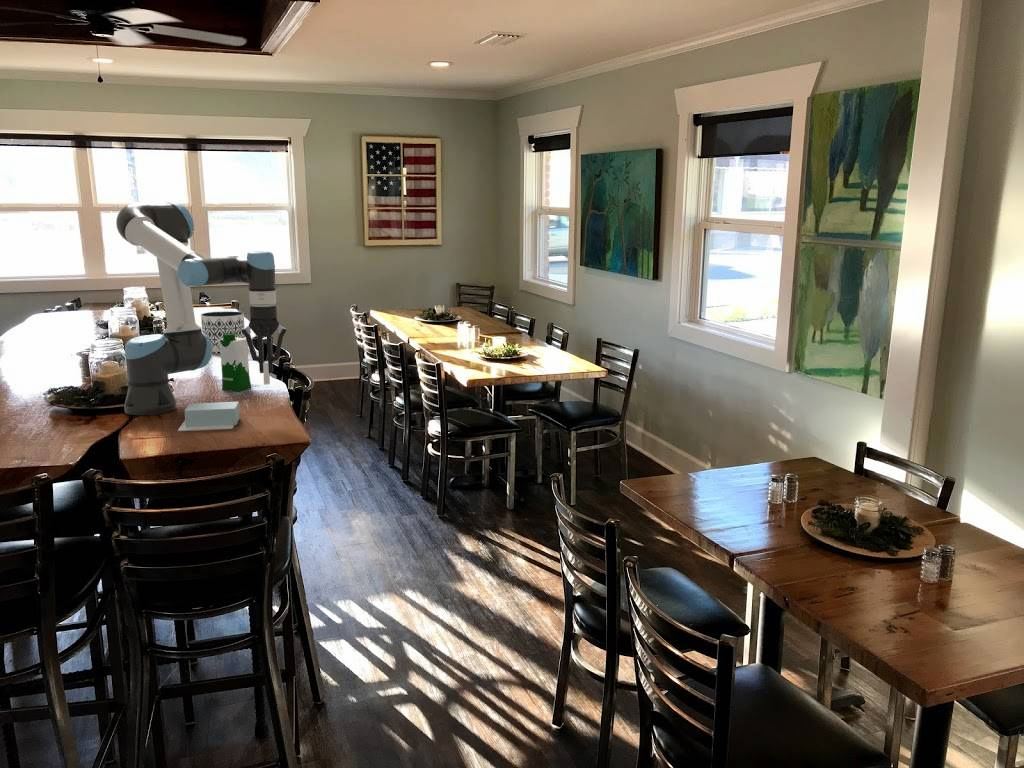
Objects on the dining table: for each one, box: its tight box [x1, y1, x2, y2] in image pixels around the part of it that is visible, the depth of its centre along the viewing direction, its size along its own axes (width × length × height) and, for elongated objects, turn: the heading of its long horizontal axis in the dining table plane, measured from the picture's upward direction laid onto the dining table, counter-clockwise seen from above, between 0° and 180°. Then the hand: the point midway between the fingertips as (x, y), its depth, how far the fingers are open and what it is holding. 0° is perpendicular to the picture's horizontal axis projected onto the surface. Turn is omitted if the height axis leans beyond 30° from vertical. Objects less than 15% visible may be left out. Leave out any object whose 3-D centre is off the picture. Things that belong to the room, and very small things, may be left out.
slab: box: [184, 401, 241, 427], centre depth 239 cm, size 5×9×14 cm
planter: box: [200, 310, 246, 354], centre depth 363 cm, size 18×18×16 cm
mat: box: [177, 420, 235, 432], centre depth 240 cm, size 15×14×1 cm
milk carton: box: [217, 333, 252, 393], centre depth 284 cm, size 9×9×20 cm
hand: (267, 383), depth 241 cm, fingers closed
